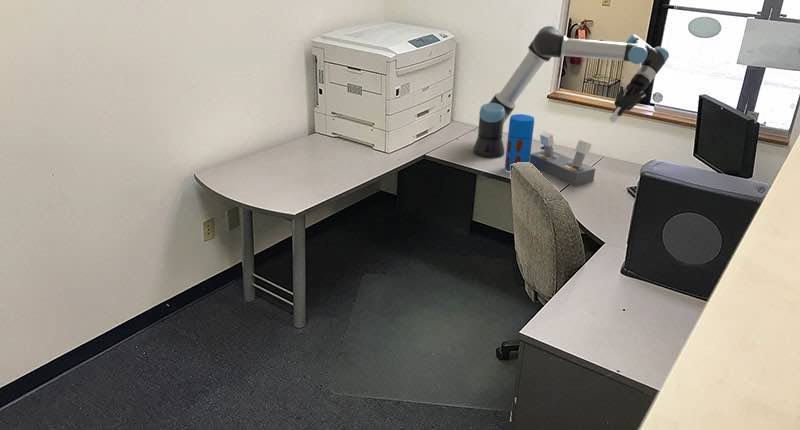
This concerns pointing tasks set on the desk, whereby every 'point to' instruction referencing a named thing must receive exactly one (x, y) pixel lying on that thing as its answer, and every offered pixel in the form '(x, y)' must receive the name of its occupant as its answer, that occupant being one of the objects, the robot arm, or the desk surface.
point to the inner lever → (547, 142)
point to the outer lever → (581, 152)
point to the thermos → (519, 139)
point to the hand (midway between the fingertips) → (611, 120)
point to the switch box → (562, 168)
